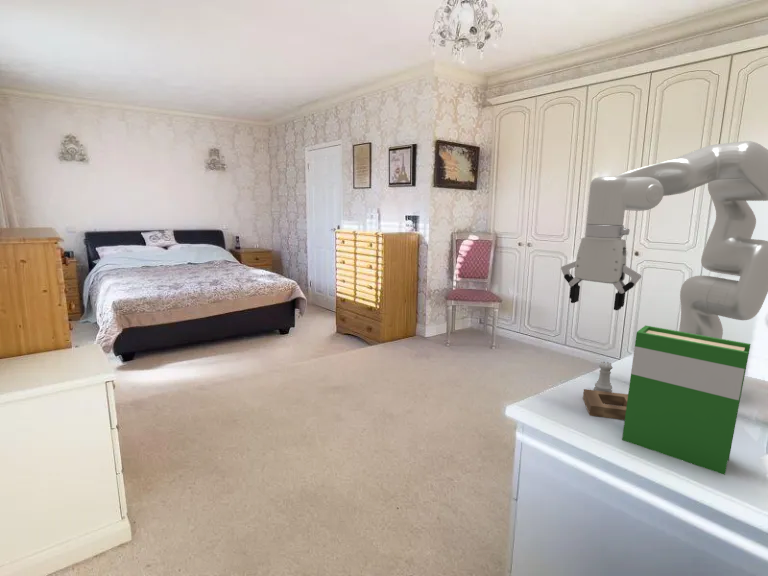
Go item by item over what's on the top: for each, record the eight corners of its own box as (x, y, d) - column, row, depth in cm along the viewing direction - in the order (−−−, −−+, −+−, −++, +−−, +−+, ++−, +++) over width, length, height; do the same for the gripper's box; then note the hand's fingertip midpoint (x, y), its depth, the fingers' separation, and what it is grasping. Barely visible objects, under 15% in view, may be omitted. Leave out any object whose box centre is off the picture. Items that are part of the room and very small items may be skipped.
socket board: (651, 406, 110) (652, 397, 110) (665, 425, 101) (666, 415, 101) (582, 398, 115) (583, 389, 114) (589, 415, 105) (590, 405, 105)
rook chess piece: (614, 395, 117) (617, 366, 115) (596, 393, 117) (599, 365, 116) (609, 388, 121) (612, 361, 119) (591, 387, 122) (595, 359, 120)
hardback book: (729, 458, 88) (750, 344, 84) (724, 474, 83) (747, 353, 78) (631, 427, 100) (645, 325, 95) (622, 440, 94) (636, 332, 90)
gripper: (650, 234, 97) (640, 309, 100) (571, 230, 109) (565, 297, 112) (641, 235, 92) (630, 315, 95) (559, 231, 104) (552, 302, 107)
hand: (595, 305), depth 104 cm, fingers open, 9 cm apart
